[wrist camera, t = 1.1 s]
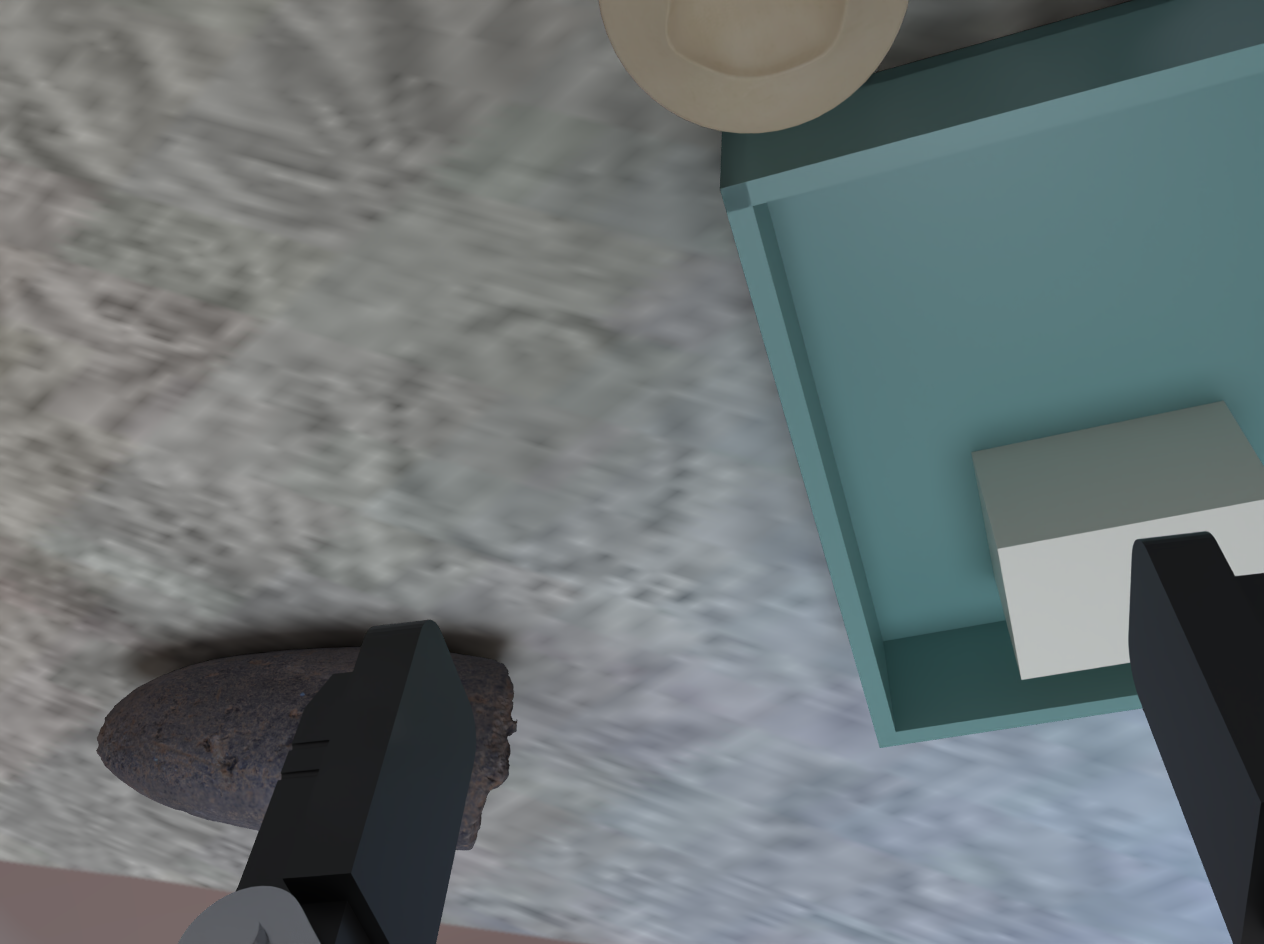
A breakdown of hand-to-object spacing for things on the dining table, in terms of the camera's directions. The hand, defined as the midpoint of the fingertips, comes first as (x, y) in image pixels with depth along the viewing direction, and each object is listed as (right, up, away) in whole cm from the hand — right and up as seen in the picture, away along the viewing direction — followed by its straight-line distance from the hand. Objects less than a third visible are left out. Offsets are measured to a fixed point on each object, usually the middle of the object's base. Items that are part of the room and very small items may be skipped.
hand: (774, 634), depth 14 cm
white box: (+12, +2, +23) cm, 26 cm away
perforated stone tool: (-13, -5, +30) cm, 33 cm away
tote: (+11, +5, +20) cm, 24 cm away
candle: (+1, +16, +14) cm, 21 cm away
